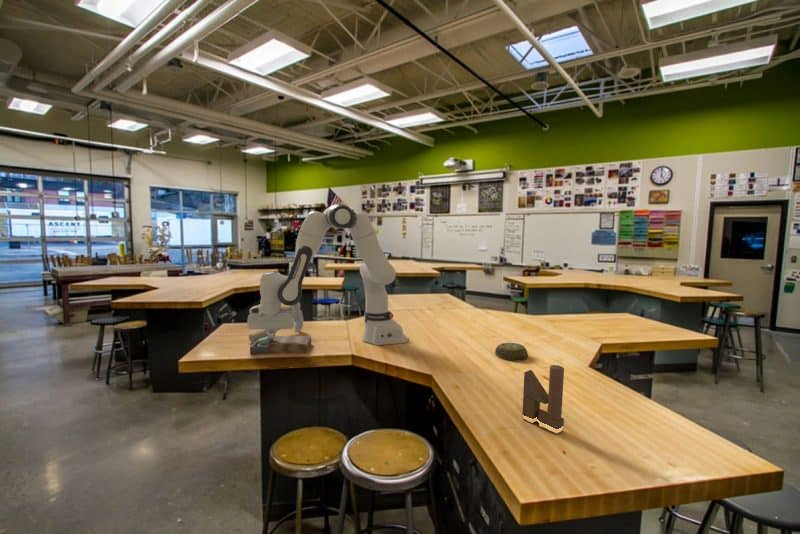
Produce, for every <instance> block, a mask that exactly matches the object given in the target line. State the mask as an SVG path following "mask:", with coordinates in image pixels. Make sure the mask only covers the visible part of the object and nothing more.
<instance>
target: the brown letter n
mask: <svg viewBox="0 0 800 534" xmlns="http://www.w3.org/2000/svg"><path fill="white" fill-rule="evenodd" d="M564 374H565V368H564V367H563V366H562V365H559V364H551V365H550V366H549V376H548V378H549V379H548V392H547V391H546V389H545V387H544V386H543V385H542V383H541V382H540V380H539V379H538V378H537V376H536V375H535V372H534V371H533V369H529V370H526V371H524V372H523V391H522V392H523V395H522V396H523V398H522V415H524V416H527V417H529V418H532V419H534V418H536V417H537V419H538V420H539V421H540V422H542V423H544V424H547V425H549V426H551V427H553V428H555V429H559V428H561V427H562V426H564V425H565V424H564V423H565V419H564V418H563V417H562V413H563V412H562V410H563V395H564V378H565V375H564ZM541 404H543V405H547V410H544V409H542V408H541ZM522 415H521V416H522ZM564 427H565V426H564Z"/></svg>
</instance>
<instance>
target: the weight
mask: <svg viewBox="0 0 800 534" xmlns="http://www.w3.org/2000/svg"><path fill="white" fill-rule="evenodd" d="M494 352H495V354H496V356H497V357H499V358H500V359H503V358H504V359H503V360H508V361H509V360H510V361H513V360H521V361H524V360H526V359H528V356H529V354H528V351H527V349H526V347H525V346H524V345H523V344H520V343H517V342H502V343H500V344H497V346H496V347H495V351H494Z"/></svg>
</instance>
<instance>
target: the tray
mask: <svg viewBox="0 0 800 534" xmlns="http://www.w3.org/2000/svg"><path fill="white" fill-rule="evenodd" d="M259 339H260V338H259ZM259 339H258V340H259ZM258 340H257V341H256V342H255V343H254V344H253V343H252V344H251V345H250V347H249V353H250V355H256V354H257V355H261V354H262V355H265V354H267V355H269V346H259V347H258V346H257V345H258V344H259V343H258ZM272 341H273V339H270V341H269V344H270V343H271V342H272Z"/></svg>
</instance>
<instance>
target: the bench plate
mask: <svg viewBox="0 0 800 534" xmlns="http://www.w3.org/2000/svg"><path fill="white" fill-rule="evenodd" d="M311 346H312V335H275V339H273V341H272V342H271V343H270V344H269V354H273V355H275V354H278V355H279V354H307V353H308V352H309V349H310V348H311ZM269 354H268V355H269Z"/></svg>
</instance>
